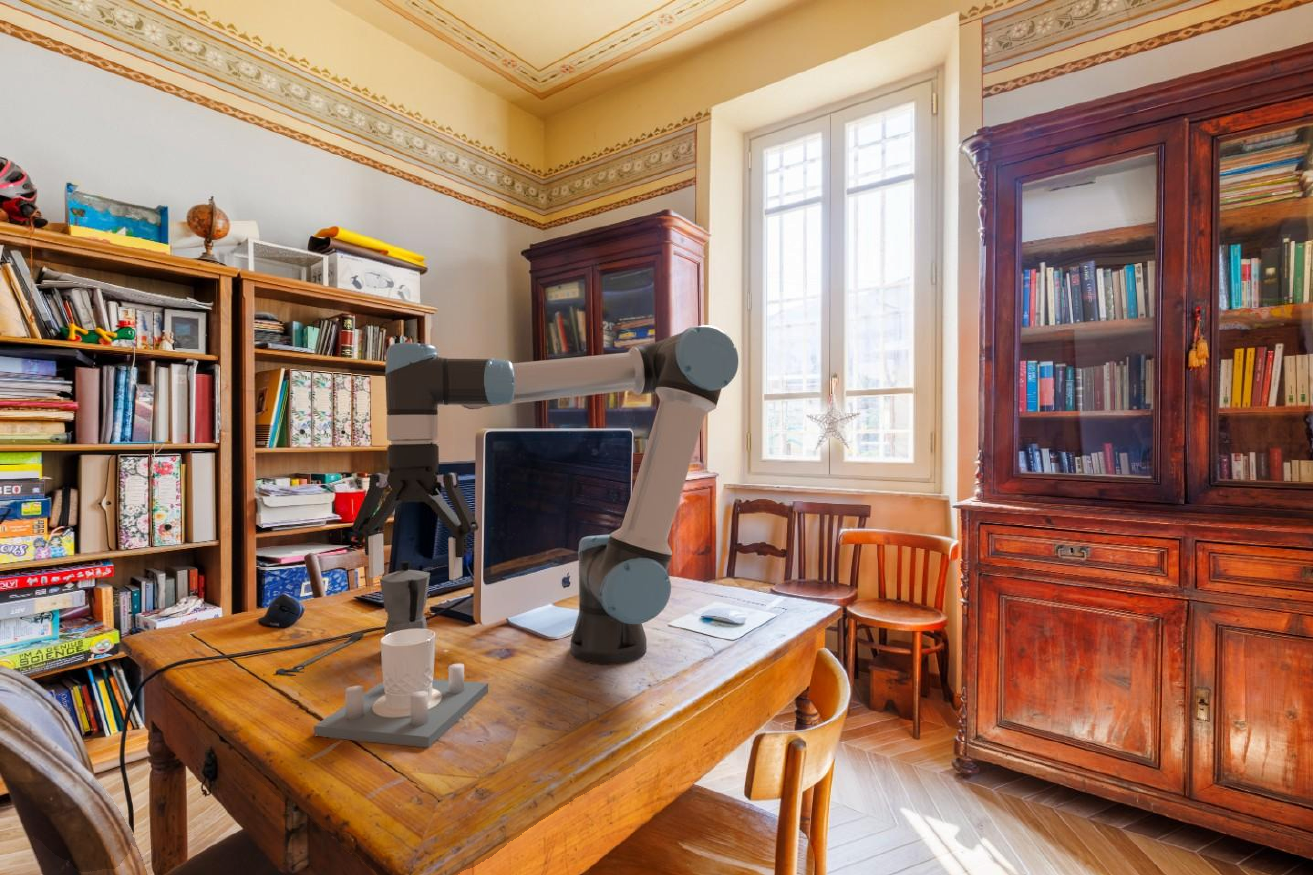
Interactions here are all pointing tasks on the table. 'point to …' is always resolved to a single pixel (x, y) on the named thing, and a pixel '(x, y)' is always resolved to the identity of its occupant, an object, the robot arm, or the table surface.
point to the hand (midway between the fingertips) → (415, 577)
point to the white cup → (407, 665)
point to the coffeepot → (405, 598)
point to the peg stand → (403, 713)
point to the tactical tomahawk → (320, 655)
